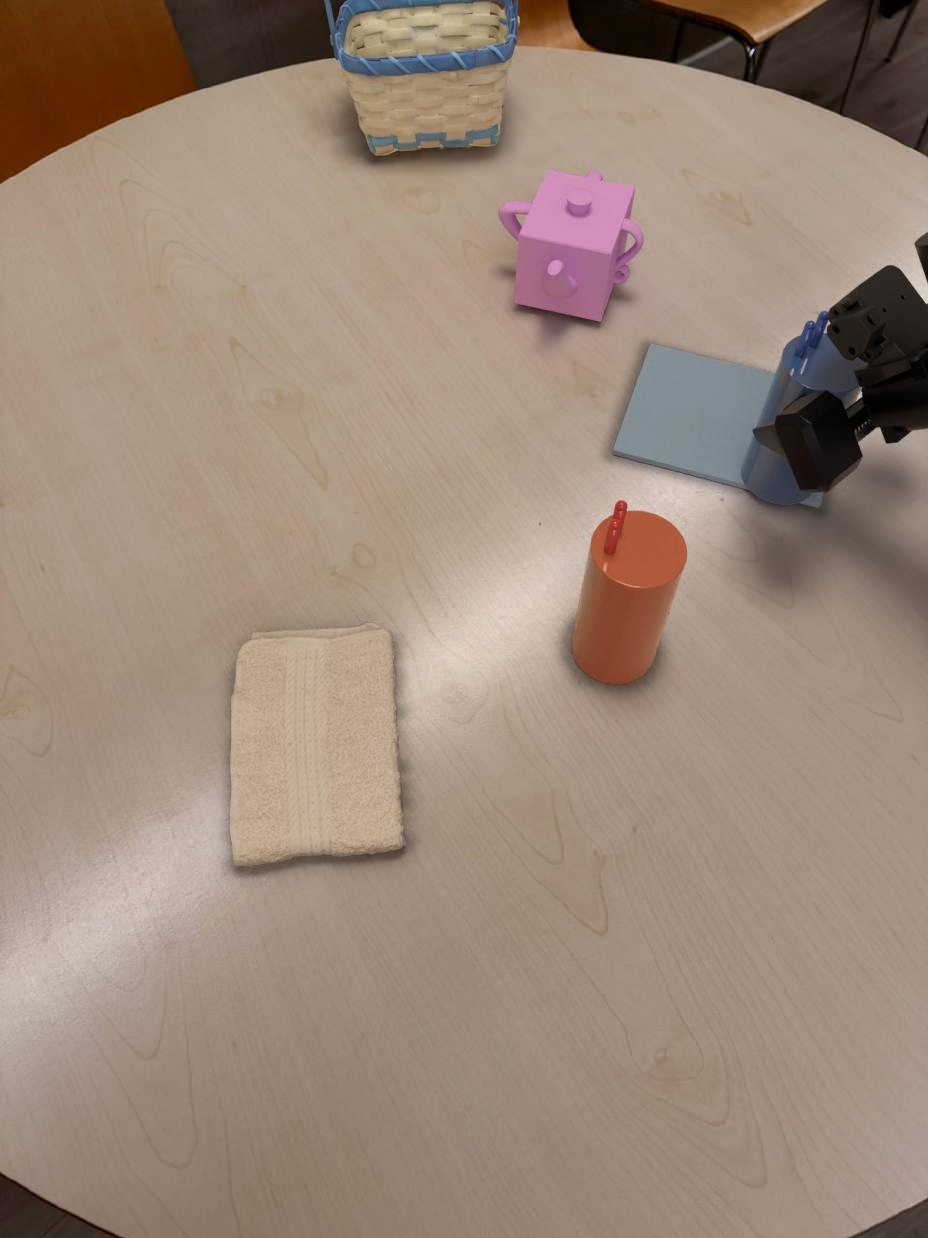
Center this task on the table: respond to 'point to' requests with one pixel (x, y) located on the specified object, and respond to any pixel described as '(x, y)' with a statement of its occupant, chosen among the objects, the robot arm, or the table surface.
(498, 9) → the basket
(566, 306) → the teapot
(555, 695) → the table surface
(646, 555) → the red spoon jar
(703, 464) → the blue mat
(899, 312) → the robot arm
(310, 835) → the washcloth
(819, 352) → the blue spoon jar
